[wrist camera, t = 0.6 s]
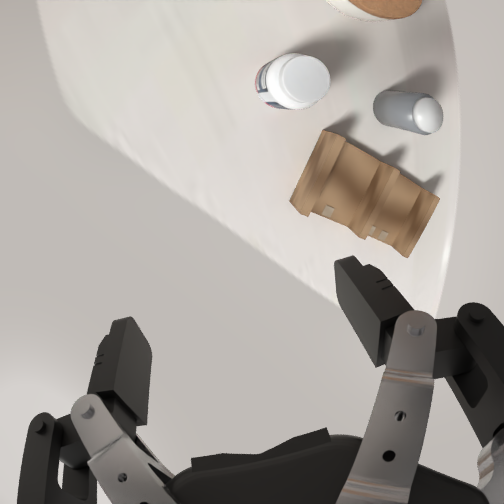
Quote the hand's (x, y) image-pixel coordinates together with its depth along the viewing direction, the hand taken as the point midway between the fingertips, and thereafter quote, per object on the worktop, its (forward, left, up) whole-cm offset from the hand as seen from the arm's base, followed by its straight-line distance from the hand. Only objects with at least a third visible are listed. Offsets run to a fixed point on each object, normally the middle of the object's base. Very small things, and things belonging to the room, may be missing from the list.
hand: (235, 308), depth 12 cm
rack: (-4, +18, -23) cm, 30 cm away
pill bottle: (-11, +3, -23) cm, 26 cm away
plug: (-15, +16, -23) cm, 32 cm away
